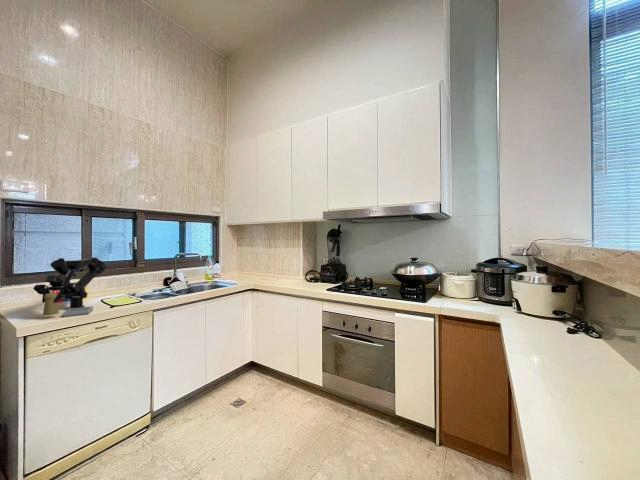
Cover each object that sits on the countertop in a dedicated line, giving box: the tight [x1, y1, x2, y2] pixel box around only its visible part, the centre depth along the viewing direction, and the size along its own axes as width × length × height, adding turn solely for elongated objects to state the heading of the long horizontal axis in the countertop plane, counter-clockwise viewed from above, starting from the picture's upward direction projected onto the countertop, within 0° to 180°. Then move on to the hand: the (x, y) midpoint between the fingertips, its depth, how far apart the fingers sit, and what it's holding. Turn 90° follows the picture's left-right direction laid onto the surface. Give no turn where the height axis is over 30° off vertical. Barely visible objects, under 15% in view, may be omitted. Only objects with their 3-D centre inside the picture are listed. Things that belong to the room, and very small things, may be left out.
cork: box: [42, 292, 60, 316], centre depth 139 cm, size 6×6×11 cm
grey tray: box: [62, 306, 94, 318], centre depth 147 cm, size 10×10×2 cm
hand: (48, 302), depth 138 cm, fingers closed on cork, 5 cm apart
